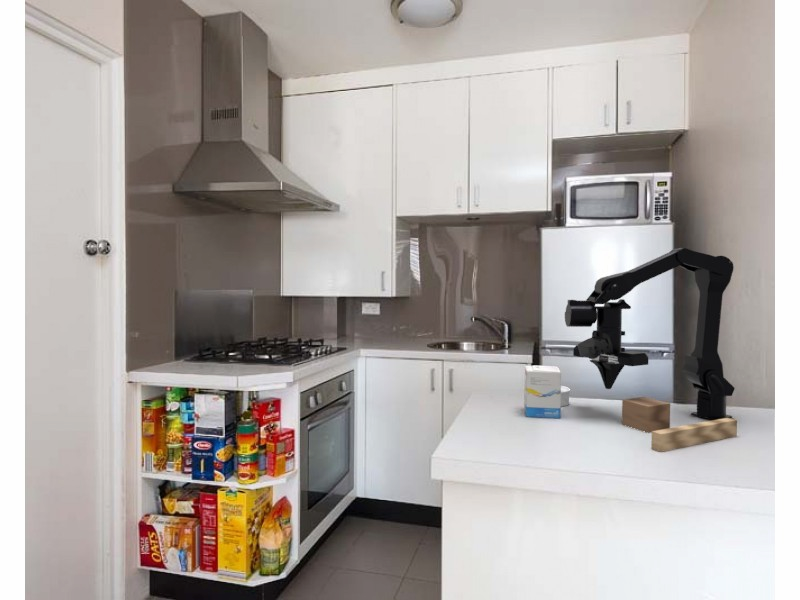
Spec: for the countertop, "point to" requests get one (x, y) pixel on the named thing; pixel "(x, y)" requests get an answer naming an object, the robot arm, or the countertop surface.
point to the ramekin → (565, 395)
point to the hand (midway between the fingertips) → (608, 388)
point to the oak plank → (693, 434)
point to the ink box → (542, 391)
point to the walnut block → (646, 414)
